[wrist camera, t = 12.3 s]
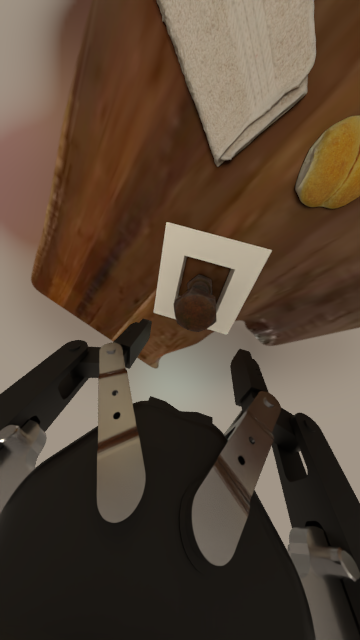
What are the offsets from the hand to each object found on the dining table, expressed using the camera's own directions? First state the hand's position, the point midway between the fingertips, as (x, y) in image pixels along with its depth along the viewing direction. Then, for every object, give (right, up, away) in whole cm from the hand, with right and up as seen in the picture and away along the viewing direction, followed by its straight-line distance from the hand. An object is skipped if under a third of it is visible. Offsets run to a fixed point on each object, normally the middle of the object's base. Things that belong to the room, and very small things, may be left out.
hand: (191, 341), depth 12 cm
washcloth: (+5, +34, +4) cm, 34 cm away
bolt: (+4, +10, +17) cm, 20 cm away
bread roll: (+20, +22, +7) cm, 31 cm away
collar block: (+4, +10, +17) cm, 20 cm away
